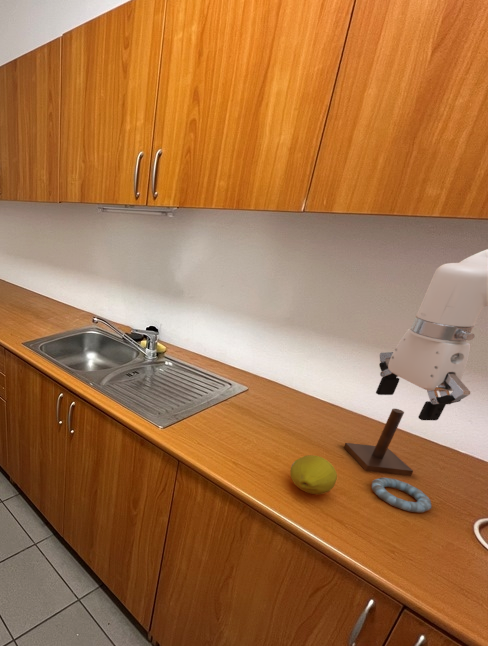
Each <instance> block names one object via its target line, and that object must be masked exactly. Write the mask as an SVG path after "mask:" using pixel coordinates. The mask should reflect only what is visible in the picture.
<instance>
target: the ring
mask: <svg viewBox="0 0 488 646" xmlns="http://www.w3.org/2000/svg"><path fill="white" fill-rule="evenodd" d="M386 488H391V489H395V490H398V491H401V492H403V493H406V494H407V495H409V496H410V497H413V498H414V500H415V501H410V500H406V499H403V498H400V497H397V496H395V494H392V493H391V492H389V491H388V490H387V489H386ZM371 490H372V491H373V493H374V494H375V495H376V496H377V497H378V498H379V499H380V500H382V501H384V502H385V503H387V504H389V505H390V506H392V507H395V508H397V509H400V510H402V511H406V512H412V513H418V514H421V513H425V512H428V511H430V510H432V508H433V507H432V500H431V499H430V497H429V496H428V495H427V494H426V493H424V492H423V490H421V489H419V488H418V487H415V486H414V485H412V484H410V483H408V482H405V481H402V480H399V479H396V478H390V477H384V476H383V477H378V478H375V479H373V480H371Z"/></svg>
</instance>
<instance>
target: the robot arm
mask: <svg viewBox="0 0 488 646" xmlns="http://www.w3.org/2000/svg"><path fill="white" fill-rule="evenodd" d="M485 307H488V248H487V249H484V250H482V251H479V252H477V253H475V254H472V255H469V256H468V257H466V258H464V259H462V260H461V261H459V262H448V263H444V264H441V265H440V266H438V267H437V268H436V269H435V271H434V273H433V275H432V278H431V280H430V283H429V285H428V287H427V290H426V292H425V294H424V297H423V298H422V302H421V303H420V306H419V307H418V311H417V313H416V314H415V317H414V319H413V322H412V324H411V327H410V328H408V329H407V330H406V331H405V333H404V334H403V335H402V336H401V338H400V339H399V341H398V343H397V345H396V346H395V348H394V350H393V351H387V352H380V353H379V365H378V366H379V369H380V372H379V375H380V377H381V379H380V381H379V384H378V386H377V388H376V391H375V394H376V395H378V396H393V395H394V394H395V391H396V389H397V387H398V384H399V382H400V378H401V379H403V380H405V381H407V382H409V383H411V384H413V385H415V386H417V387H419V388H421V389H423V390H426V393H427V396H428V398H429V401H425V402H424V404H423V406H422V407H421V411H420V412H419V414H418V417H417V418H418V419H419V420H421V421H438V420H439V418H440V417H441V415H442V413H443V411H444V409H445V408H446V405H451V404H455V403H460V402H461V401H462V400H463V399H465V398H467V397H468V396H470V395H471V391H470V389H469V388H468V387H467V386H466V384H464V383H463V381H462V378H463V376H464V373H465V371H466V367H467V365H468V361H469V358H470V353H471V343H469V342H468V341H472V340H473V339H475V333H472V331H473V329H474V327H475V325H476V323H477V321H478V320H479V317H480V315H481V313H482V311H483V309H484V308H485ZM438 392H439V394H438ZM450 392H451V393H450ZM439 395H440V396H439Z"/></svg>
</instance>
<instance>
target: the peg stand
mask: <svg viewBox="0 0 488 646" xmlns="http://www.w3.org/2000/svg"><path fill="white" fill-rule="evenodd" d="M404 414H405V411H404V410H402V409H399V408H392V409H391V412H390V413H389V415H388V418H387V420H386V422H385V424H384V427H383V429H382V431H381V432H380V433H381V434H380V435H379V438H378V440H377V442H376V444H375V445H370V444H360V443H354V442H353V443H351V442H345V443H344V445H343V449H344V450H345V451H346V452H347V453H348V454H349V455H350V456H351V457H352V458H353V460H355V461H356V462H357V463H358V465H360V466H361V467H362V468H363V470H364V471H366V472H374V473H381V474H389V475H390V474H391V475H399V476H400V475H401V476H409V477H411V476H412V475H413V472H414V470H413V469H412V468H411V467H410V466H408V465H407V464H406V463H405V462H404V461H403V460H402V459H400V457H399V456H397V455H396V453H394V452H393V451H391V449H390V448H389V447H390V444H391V442H392V440H393V438H394V436H395V433H396V431H397V429H398V428H399V425H400V423H401V421H402V418H403V416H404Z"/></svg>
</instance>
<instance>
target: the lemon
mask: <svg viewBox="0 0 488 646" xmlns="http://www.w3.org/2000/svg"><path fill="white" fill-rule="evenodd" d="M289 471H290V472H289V474H290V479H291V481H292V482H293V484H294V485H295V486H296V487H297V488H298V489H300V490H301V491H303V492H305V493H306V494H312V495H323V494H326V493H329V492H331V490H332V489H333V488H334V487H335V485H336V482H337V479H338V473H337V470H336V469H335V466H333V464H332V463H331V462H330V461H328V459H326V458H324V457H322V456H319V455H312V454H310V455H309V454H307V455H304V456H301V457H299V458H297V459H296V460H295V461H293V462H292V464H291V466H290V470H289Z"/></svg>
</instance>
